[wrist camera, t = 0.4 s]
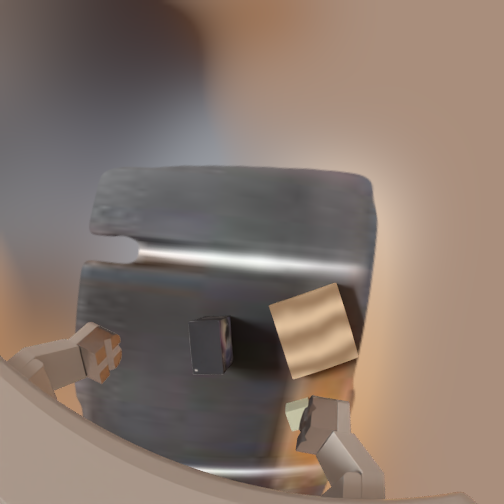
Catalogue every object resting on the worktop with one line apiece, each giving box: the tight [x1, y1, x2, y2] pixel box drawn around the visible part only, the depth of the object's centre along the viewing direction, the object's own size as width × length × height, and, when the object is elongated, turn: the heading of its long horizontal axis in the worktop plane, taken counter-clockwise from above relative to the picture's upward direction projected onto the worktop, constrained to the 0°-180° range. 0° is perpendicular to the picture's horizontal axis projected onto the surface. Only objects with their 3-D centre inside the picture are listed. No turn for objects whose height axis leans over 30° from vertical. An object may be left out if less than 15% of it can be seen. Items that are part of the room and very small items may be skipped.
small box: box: [188, 316, 233, 375], centre depth 57 cm, size 11×6×10 cm, turn 4°
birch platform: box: [269, 283, 359, 379], centre depth 58 cm, size 16×14×4 cm
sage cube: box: [285, 397, 309, 431], centre depth 56 cm, size 5×5×5 cm
